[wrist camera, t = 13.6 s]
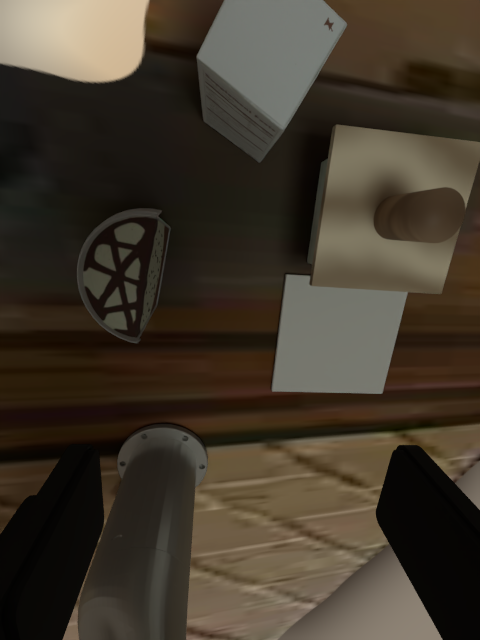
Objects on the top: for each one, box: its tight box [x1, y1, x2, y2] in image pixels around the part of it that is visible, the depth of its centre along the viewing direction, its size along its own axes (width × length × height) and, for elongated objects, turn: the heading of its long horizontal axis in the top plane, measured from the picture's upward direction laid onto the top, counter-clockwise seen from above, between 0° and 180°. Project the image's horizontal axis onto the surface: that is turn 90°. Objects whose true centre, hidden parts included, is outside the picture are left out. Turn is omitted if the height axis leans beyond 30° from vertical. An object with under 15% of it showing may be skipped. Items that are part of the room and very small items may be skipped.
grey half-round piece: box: [77, 208, 171, 343], centre depth 30 cm, size 12×6×10 cm, turn 166°
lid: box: [309, 125, 480, 294], centre depth 26 cm, size 14×14×7 cm
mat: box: [271, 274, 408, 394], centre depth 39 cm, size 16×16×1 cm
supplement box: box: [196, 0, 347, 163], centre depth 25 cm, size 7×7×13 cm
